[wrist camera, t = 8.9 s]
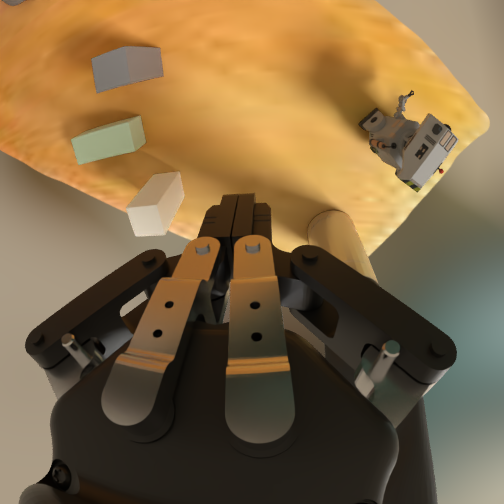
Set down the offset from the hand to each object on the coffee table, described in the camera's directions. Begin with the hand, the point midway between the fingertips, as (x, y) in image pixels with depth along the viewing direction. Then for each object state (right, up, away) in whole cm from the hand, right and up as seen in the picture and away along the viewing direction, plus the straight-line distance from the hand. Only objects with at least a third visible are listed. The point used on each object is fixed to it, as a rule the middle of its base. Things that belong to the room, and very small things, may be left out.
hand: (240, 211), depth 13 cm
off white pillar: (-14, +10, +34) cm, 38 cm away
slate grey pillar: (-16, +27, +20) cm, 37 cm away
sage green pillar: (-18, +17, +25) cm, 35 cm away
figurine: (+23, +19, +25) cm, 39 cm away
